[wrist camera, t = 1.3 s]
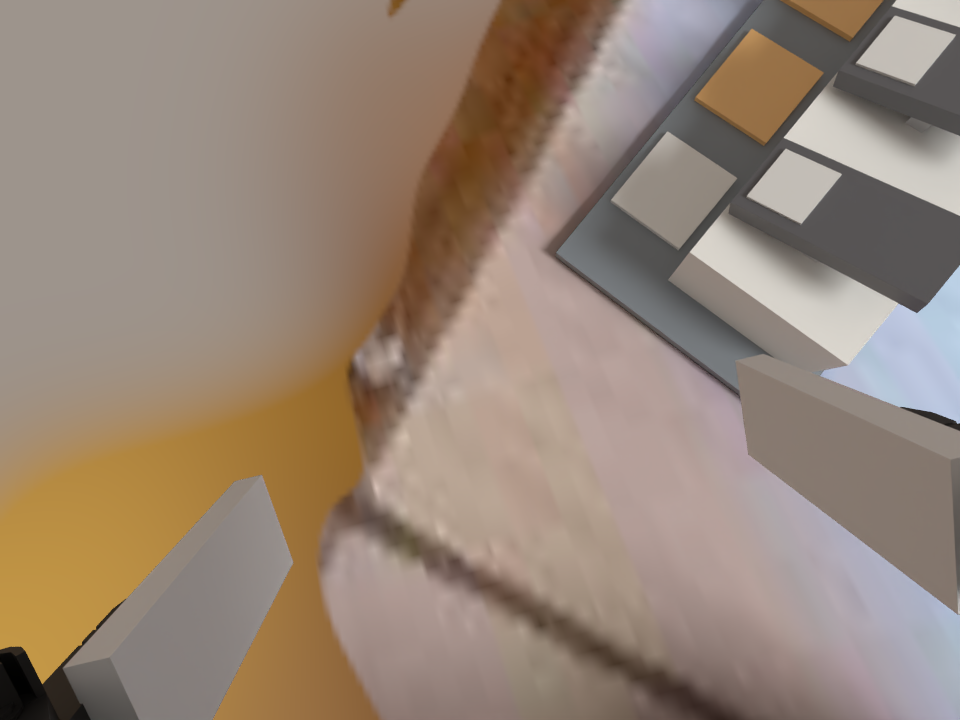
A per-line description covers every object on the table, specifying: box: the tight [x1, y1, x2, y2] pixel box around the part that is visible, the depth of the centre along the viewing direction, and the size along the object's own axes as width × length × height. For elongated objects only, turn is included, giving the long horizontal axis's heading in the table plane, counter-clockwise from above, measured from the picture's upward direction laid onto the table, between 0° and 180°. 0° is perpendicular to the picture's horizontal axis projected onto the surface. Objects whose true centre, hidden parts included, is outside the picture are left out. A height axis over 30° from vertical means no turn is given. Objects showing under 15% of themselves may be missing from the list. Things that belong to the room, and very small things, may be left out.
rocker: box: [728, 138, 960, 313], centre depth 27 cm, size 10×4×1 cm, turn 51°
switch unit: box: [556, 0, 960, 395], centre depth 33 cm, size 18×34×8 cm, turn 140°
